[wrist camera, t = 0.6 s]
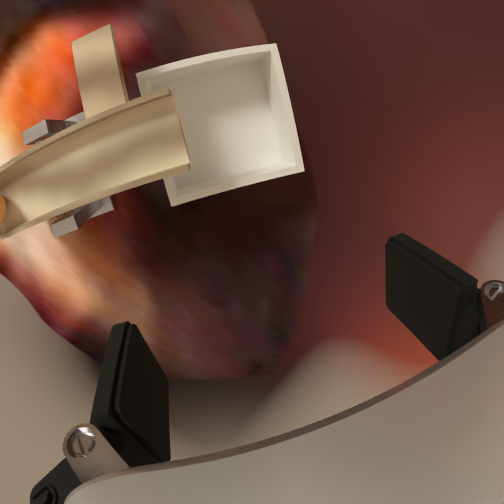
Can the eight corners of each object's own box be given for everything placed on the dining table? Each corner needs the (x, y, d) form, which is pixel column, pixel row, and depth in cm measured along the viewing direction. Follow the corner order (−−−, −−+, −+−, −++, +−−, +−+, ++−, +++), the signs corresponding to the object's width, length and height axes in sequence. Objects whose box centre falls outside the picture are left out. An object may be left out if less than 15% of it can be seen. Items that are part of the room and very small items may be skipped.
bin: (144, 83, 29) (136, 73, 24) (262, 56, 31) (276, 43, 25) (174, 195, 35) (171, 206, 30) (287, 165, 37) (304, 171, 31)
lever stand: (47, 129, 28) (9, 131, 20) (87, 111, 29) (56, 105, 20) (76, 222, 34) (47, 249, 25) (115, 208, 34) (93, 231, 26)
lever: (-4, 113, 23) (-42, 117, 17) (165, 27, 23) (148, 1, 16) (27, 225, 30) (-7, 248, 23) (198, 164, 30) (190, 176, 23)
